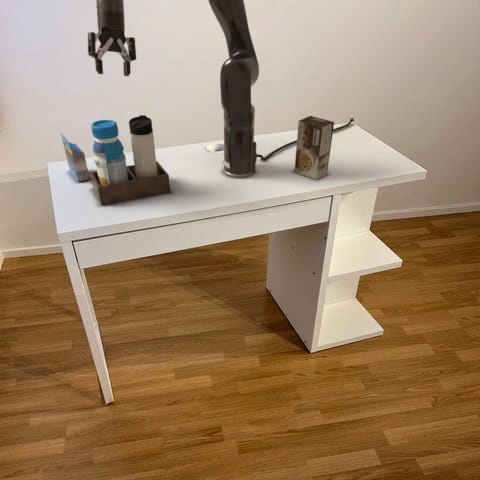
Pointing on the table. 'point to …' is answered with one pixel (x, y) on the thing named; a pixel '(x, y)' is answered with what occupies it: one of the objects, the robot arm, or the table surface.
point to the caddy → (131, 186)
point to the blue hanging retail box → (76, 160)
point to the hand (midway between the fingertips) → (113, 75)
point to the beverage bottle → (108, 153)
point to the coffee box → (313, 146)
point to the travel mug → (143, 147)
